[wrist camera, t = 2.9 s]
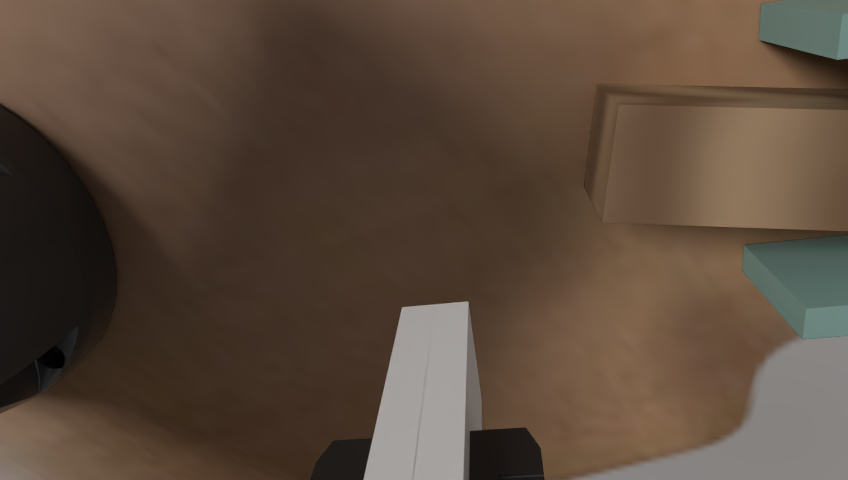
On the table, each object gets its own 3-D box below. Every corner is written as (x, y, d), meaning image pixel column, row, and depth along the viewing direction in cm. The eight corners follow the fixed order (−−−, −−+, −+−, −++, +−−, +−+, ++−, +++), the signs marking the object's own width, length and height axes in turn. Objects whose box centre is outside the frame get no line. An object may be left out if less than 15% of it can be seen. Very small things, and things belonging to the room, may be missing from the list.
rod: (582, 184, 24) (602, 222, 21) (595, 82, 23) (618, 104, 19) (1005, 197, 23) (1104, 240, 20) (1050, 92, 22) (1167, 117, 18)
